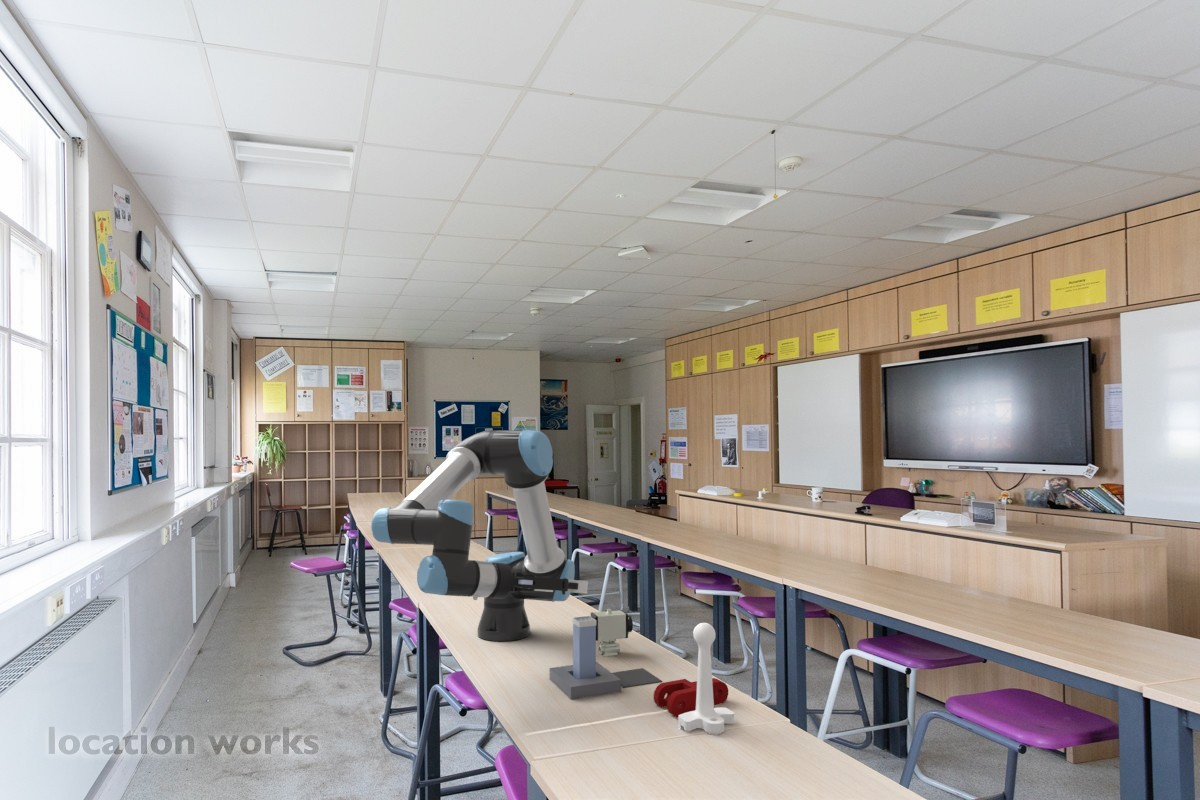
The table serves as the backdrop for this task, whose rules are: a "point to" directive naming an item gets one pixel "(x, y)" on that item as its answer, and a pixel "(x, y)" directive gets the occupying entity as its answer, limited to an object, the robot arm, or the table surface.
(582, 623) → the plug
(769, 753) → the table surface
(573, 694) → the socket
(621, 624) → the pneumatic valve
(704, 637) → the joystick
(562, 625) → the table surface
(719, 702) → the mechanical linkage
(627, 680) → the mat
